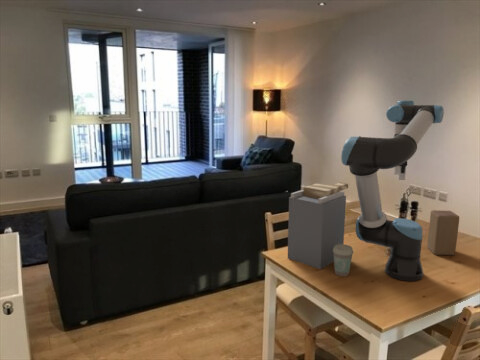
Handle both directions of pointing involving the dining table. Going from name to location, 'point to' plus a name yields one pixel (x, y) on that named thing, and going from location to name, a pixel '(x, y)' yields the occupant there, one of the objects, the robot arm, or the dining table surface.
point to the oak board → (323, 189)
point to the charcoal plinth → (315, 228)
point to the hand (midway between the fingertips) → (399, 177)
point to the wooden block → (443, 232)
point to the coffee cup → (342, 259)
